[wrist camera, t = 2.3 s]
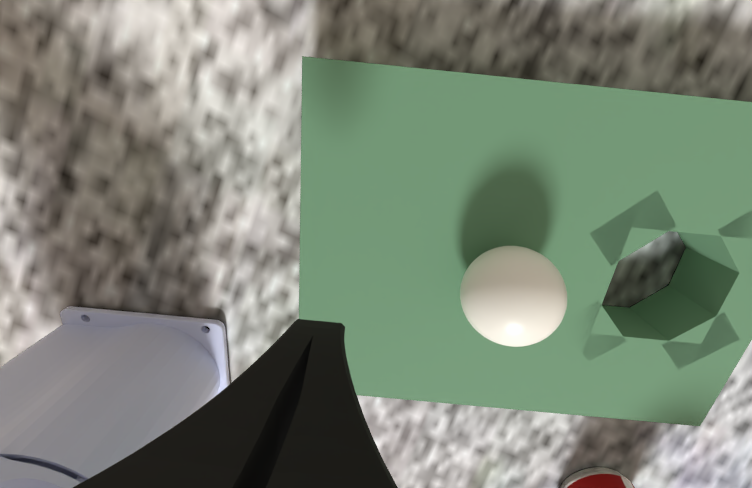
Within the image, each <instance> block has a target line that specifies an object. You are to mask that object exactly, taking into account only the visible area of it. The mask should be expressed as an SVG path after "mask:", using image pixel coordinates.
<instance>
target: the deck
mask: <svg viewBox="0 0 752 488" xmlns="http://www.w3.org/2000/svg"><path fill="white" fill-rule="evenodd" d="M668 231H674V232H678V234H679V236H680V238H681V239H682V241H683V243H684V245H685V247H686V249H685V251H684V253H683V255H682V257H681V260H680V262H679V264H678V266H677V268H676V270H675V273H674V275H673V277H672V279H671V281H670V283H669V286H667V287H665V288H663V289H661V290H660V291H658V292H656V293H654V294H653V295H651V296H649V297H647V298H646V299H644V300H642V301H640V302H638V303H637V304H635V305H633V306H631V307H630V308H627V307H617V306H606V305H602V302H603V300H604V297H605V295H606V292H607V290H608V287H609V284H610V282H611V279H612V277H613V274H614V272H615V269H616V266H617V264H618V261H620V260H621V259H623V258H625V257H626V256H628V255H630V254H631V253H633V252H635V251H636V250H638V249H640V248H641V247H643V246H645V245H646V244H648V243H649V242H651V241H653V240H654V239H656V238H658V237H659V236H661V235H663V234H664V233H666V232H668ZM502 246H520V247H525V248H529V249H531V250H534V251H536V252H538V253H540V254H541V255H543V256H545V257H546V258H547V259H548V260H549V261H551V262H552V263H553V265H554V266H555V267H556V268H557V269H558V271H559V272H560V274H561V276H562V278H563V280H564V283H565V286H566V291H567V308H566V312H565V315H564V317H563V320H562V321H561V323H560V325H559V326H558V327H557V329H556V330H555V331H554V332H553V333H552V334H551V335H549V336H548V337H547V338H545V339H544V340H542V341H540V342H538V343H535V344H532V345H528V346H521V347H511V346H505V345H501V344H498V343H495V342H493V341H491V340H489V339H487V338H485V337H484V336H482V335H481V334H480V333H479V332H477V331H476V330H475V329H474V328H473V326H472V325H471V324H470V322H469V321H468V319H467V318H466V316H465V314H464V311H463V309H462V305H461V300H460V287H461V282H462V279H463V276H464V274H465V272H466V270H467V268H468V267H469V266H470V264H471V263H472V262H473V261H474V260H475V259H476V258H477V257H478V256H480V255H481V254H483V253H484V252H486V251H488V250H491V249H494V248H497V247H502ZM299 319H304V320H315V321H326V322H336V323H342V324H343V325H344V326H345V336H344V343H345V351H346V357H347V362H348V366H349V370H350V374H351V378H352V382H353V386H354V389H355V392H356V395H362V396H373V397H384V398H395V399H406V400H417V401H428V402H439V403H450V404H461V405H472V406H483V407H494V408H505V409H516V410H527V411H538V412H549V413H560V414H571V415H582V416H593V417H604V418H615V419H626V420H637V421H648V422H659V423H670V424H681V425H692V426H700V425H701V423H702V422H703V420H704V418H705V417H706V415H707V413H708V412H709V410H710V408H711V407H712V405H713V403H714V402H715V400H716V398H717V397H718V395H719V393H720V392H721V390H722V388H723V387H724V385H725V383H726V382H727V380H728V378H729V377H730V375H731V373H732V372H733V370H734V368H735V367H736V365H737V363H738V362H739V360H740V358H741V357H742V355H743V353H744V352H745V350H746V348H747V347H748V345H749V343H750V342H751V340H752V102H746V101H736V100H727V99H717V98H707V97H697V96H687V95H677V94H668V93H658V92H648V91H638V90H628V89H618V88H609V87H599V86H589V85H579V84H569V83H559V82H550V81H540V80H530V79H520V78H510V77H500V76H491V75H481V74H471V73H461V72H451V71H441V70H432V69H422V68H412V67H402V66H392V65H382V64H373V63H363V62H353V61H343V60H333V59H323V58H314V57H304V56H302V125H301V203H300V281H299Z"/></svg>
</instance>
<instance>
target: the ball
mask: <svg viewBox="0 0 752 488" xmlns="http://www.w3.org/2000/svg"><path fill="white" fill-rule="evenodd" d="M460 300H461V305H462V309H463V311H464V314H465V316H466V318H467V319H468V321H469V322H470V324H471V325H472V326H473V328H474V329H475V330H476V331H477V332H479V333H480V334H481V335H482V336H484V337H485V338H487V339H489V340H491V341H493V342H495V343H498V344H501V345H505V346H511V347H521V346H528V345H532V344H535V343H538V342H540V341H542V340H544V339H545V338H547V337H548V336H549V335H551V334H552V333H553V332H554V331H555V330H556V329H557V327H558V326H559V325H560V323H561V321H562V320H563V317H564V315H565V312H566V308H567V291H566V286H565V283H564V280H563V278H562V276H561V274H560V272H559V271H558V269H557V268H556V267H555V266H554V265H553V263H552V262H551V261H549V260H548V259H547V258H546V257H545V256H543V255H541V254H540V253H538V252H536V251H534V250H531V249H529V248H525V247H520V246H502V247H497V248H494V249H491V250H488V251H486V252H484V253H483V254H481V255H480V256H478V257H477V258H476V259H475V260H474V261H473V262H472V263H471V264H470V266H469V267H468V268H467V270H466V272H465V274H464V276H463V279H462V282H461V287H460Z"/></svg>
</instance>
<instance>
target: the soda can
mask: <svg viewBox="0 0 752 488" xmlns="http://www.w3.org/2000/svg"><path fill="white" fill-rule="evenodd" d="M560 488H635V487H634V486H633V484H632V483H631V482H630V481H629V480H628V479H627V478H626V477H624V476H623V475H621V474H620V473H619V472H617V471H615V470H613V469H610V468H604V467H593V468H587V469H583V470H580V471H578V472H576V473H574V474H572V475H571V476H569V477H568V478H567V479H566V480H565V481H564V482H563V483H562V485H561V487H560Z"/></svg>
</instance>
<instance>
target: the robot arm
mask: <svg viewBox="0 0 752 488" xmlns="http://www.w3.org/2000/svg"><path fill="white" fill-rule="evenodd" d="M60 316H61V320H62V323H63V325H61V326H60V327H58V328H57V329H55V330H54V331H52V332H51V333H50V334H48V335H47V336H45V337H44V338H42V339H41V340H39V341H38V342H36V343H35V344H33V345H32V346H30V347H29V348H28V349H26V350H25V351H23V352H22V353H20V354H19V355H17V356H16V357H14V358H13V359H11V360H10V361H8V362H7V363H5V364H4V365H3V366H1V367H0V488H397V486H396V484H395V482H394V480H393V478H392V476H391V474H390V473H389V471H388V469H387V467H386V465H385V463H384V461H383V459H382V457H381V455H380V453H379V451H378V448H377V446H376V444H375V442H374V440H373V437H372V435H371V433H370V430H369V428H368V425H367V423H366V421H365V418H364V415H363V413H362V410H361V407H360V404H359V401H358V398H357V395H356V392H355V389H354V386H353V382H352V378H351V374H350V370H349V366H348V362H347V357H346V351H345V343H344V336H345V326H344V325H343V324H342V323H336V322H326V321H315V320H304V319H298V320H296V321H295V322H294V323H293V324H292V325H291V326H290V327H289V328H288V329H287V331H286V332H285V333H284V334H283V335H282V336H281V337H280V338H279V339H278V340H277V341H276V342H275V343H274V344H273V345H272V346H271V347H270V348H269V349H268V350H267V351H266V352H265V353H264V354H263V355H262V356H261V357H260V358H259V359H258V360H257V361H256V362H254V363H253V364H252V365H251V366H250V367H249V368H248V369H247V370H246V371H245V372H243V373H242V374H241V375H240V376H239V377H238V378H236V379H235V380H234V381H233V382H232V383H231V384H230V380H229V368H228V355H227V343H226V331H225V325H224V324H223V323H222V322H221V321H219V320H213V319H203V318H192V317H181V316H170V315H159V314H149V313H138V312H127V311H116V310H106V309H95V308H84V307H73V306H69V307H66V308H65V309H63V310H62V311H61V312H60ZM205 326H208V327H209V328H210V329H207V328H206V327H205Z"/></svg>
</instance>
